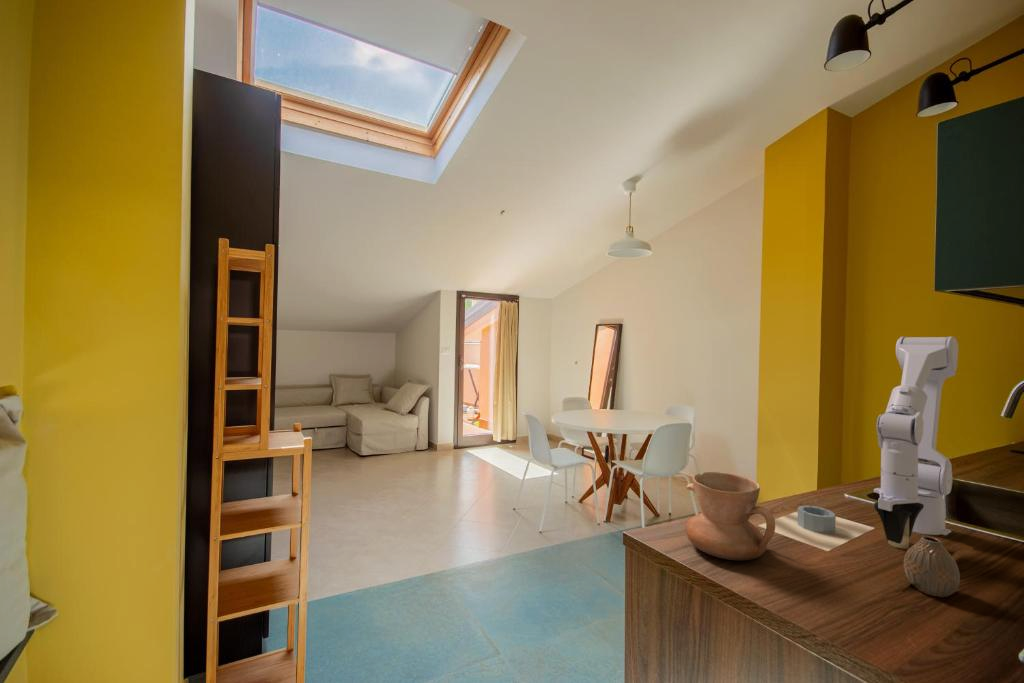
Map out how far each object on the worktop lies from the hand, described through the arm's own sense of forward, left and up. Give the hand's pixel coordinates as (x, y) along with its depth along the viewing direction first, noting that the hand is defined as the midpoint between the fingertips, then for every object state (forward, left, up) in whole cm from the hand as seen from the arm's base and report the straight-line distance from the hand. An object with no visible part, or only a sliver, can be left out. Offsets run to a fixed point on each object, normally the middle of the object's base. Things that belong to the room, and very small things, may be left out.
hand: (898, 538), depth 91 cm
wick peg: (0, 0, -2) cm, 2 cm away
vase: (+15, +9, -2) cm, 18 cm away
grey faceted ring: (+5, -13, -1) cm, 14 cm away
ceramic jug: (+32, -17, -2) cm, 36 cm away
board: (+5, -13, -2) cm, 14 cm away
